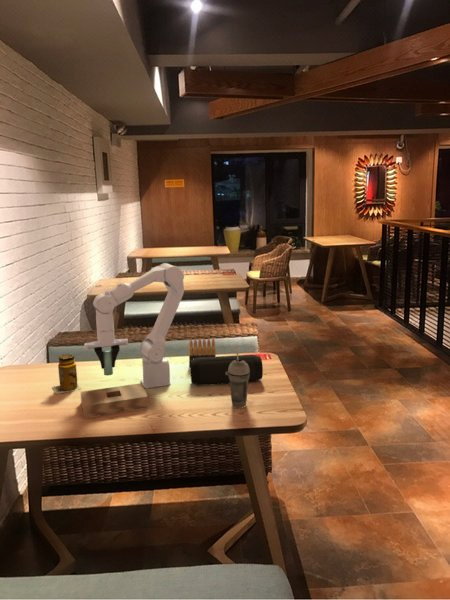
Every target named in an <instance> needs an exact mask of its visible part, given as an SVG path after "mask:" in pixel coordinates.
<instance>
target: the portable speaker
mask: <svg viewBox="0 0 450 600" xmlns="http://www.w3.org/2000/svg"><path fill="white" fill-rule="evenodd" d="M238 358H239V359H240V360H243V361H245V362H246V363H247V364H248V366H249V370H250V376H249V379H248V383H256V382H258V381H260V380H262V379H263V375H264V374H263V373H264V367H263V361H262V357H261V356H259V355H255V354H243V355H242V354H241V355H240V354H238ZM234 360H237V355H221V356H216V357H199V358H195V359H193V360H191V361H190V368H189V369H190V383H191V384H193V385H197V386H212V385H211V384H214V385H227V384H228V383H230V380H229V376H228V368H229V365H230V364H231V363H232V362H233V361H234Z"/></svg>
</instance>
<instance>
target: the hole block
mask: <svg viewBox="0 0 450 600" xmlns="http://www.w3.org/2000/svg"><path fill="white" fill-rule="evenodd" d="M80 401H81V402H80V403H81V407H82V412H83V413H82V414H83V417H84V419H87V418H93V417H94V418H95V417H100V416H105V415H106V416H107V415H114V414H119V413H125V412H131V411H138V410H143V409H149V396H148V394H147V392H146V390H145V388H144V386H143V384H142V382H141V383H132V384H124V385H119V386H111V387H106V388H98V389H91V390H84V391H80Z"/></svg>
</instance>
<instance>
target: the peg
mask: <svg viewBox="0 0 450 600" xmlns="http://www.w3.org/2000/svg"><path fill="white" fill-rule="evenodd" d="M102 351H103V350H102ZM103 363H104V369H103V375H104V376H112V375H113V374H114V370H113V368H114V367H112V352H111V350H104V351H103Z"/></svg>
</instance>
